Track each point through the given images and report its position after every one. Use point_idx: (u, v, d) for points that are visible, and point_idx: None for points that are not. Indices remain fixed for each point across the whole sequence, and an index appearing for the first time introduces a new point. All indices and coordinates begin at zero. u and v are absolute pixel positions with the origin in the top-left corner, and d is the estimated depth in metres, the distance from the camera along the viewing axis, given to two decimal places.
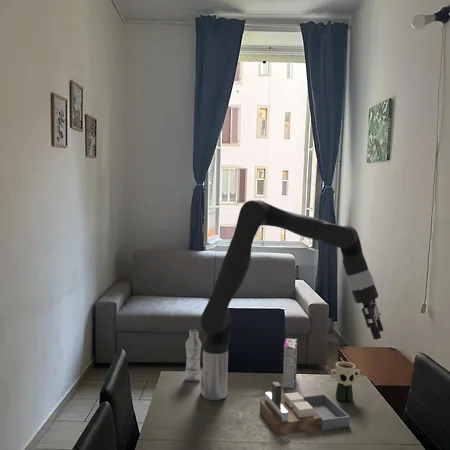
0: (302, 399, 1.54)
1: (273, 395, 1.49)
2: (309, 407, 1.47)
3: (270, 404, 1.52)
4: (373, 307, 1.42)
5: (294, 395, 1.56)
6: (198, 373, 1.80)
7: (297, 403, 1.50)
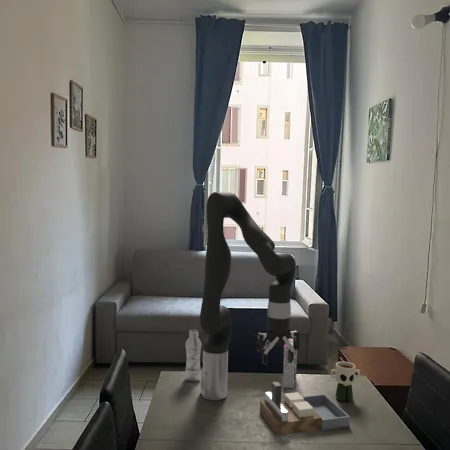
0: (302, 399, 1.54)
1: (273, 395, 1.49)
2: (309, 407, 1.47)
3: (270, 404, 1.52)
4: (274, 337, 1.46)
5: (294, 395, 1.56)
6: (198, 373, 1.80)
7: (297, 403, 1.50)
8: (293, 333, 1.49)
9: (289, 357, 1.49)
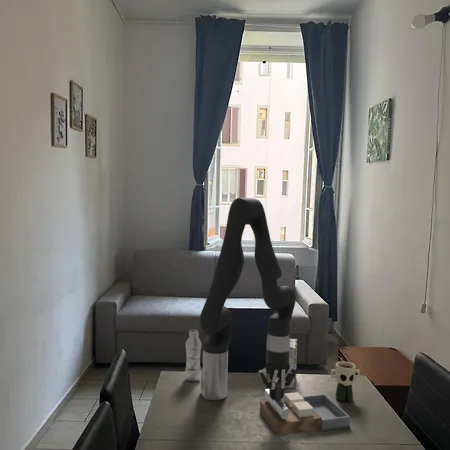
0: (302, 399, 1.54)
1: None
2: (309, 407, 1.47)
3: (270, 401, 1.52)
4: (273, 371, 1.47)
5: (294, 395, 1.56)
6: (198, 373, 1.80)
7: (297, 403, 1.50)
8: (291, 369, 1.50)
9: None
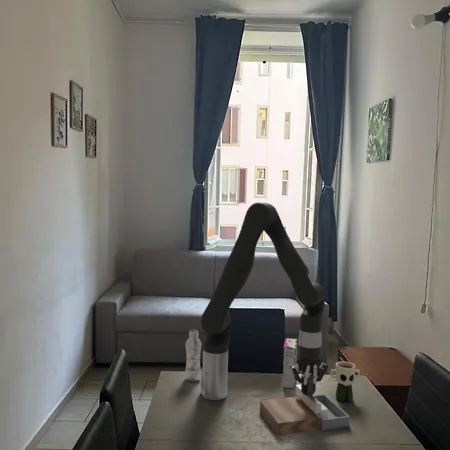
0: None
1: None
2: None
3: (302, 396, 1.55)
4: (305, 367, 1.50)
5: None
6: (198, 373, 1.80)
7: None
8: (322, 364, 1.53)
9: None
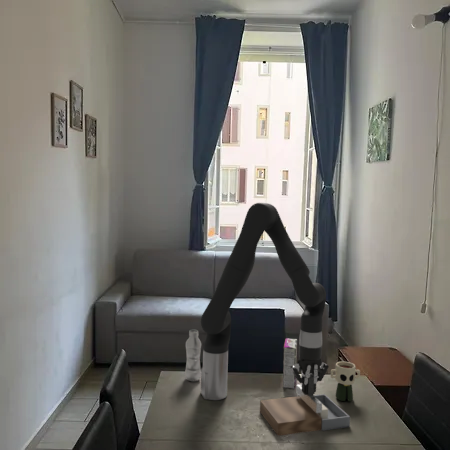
0: None
1: None
2: None
3: (302, 396, 1.55)
4: (306, 367, 1.50)
5: None
6: (198, 373, 1.80)
7: None
8: (323, 364, 1.53)
9: None
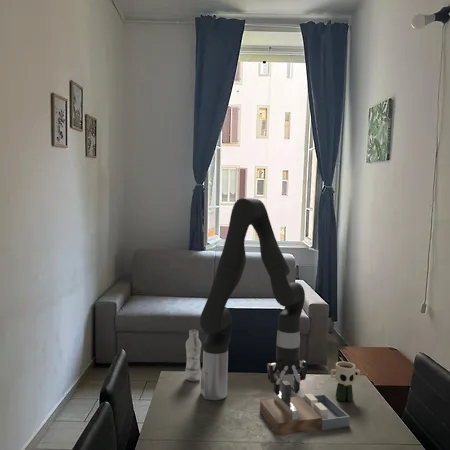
0: None
1: (283, 394, 1.50)
2: None
3: (279, 403, 1.53)
4: (283, 367, 1.48)
5: None
6: (198, 373, 1.80)
7: None
8: (302, 363, 1.51)
9: (295, 387, 1.51)
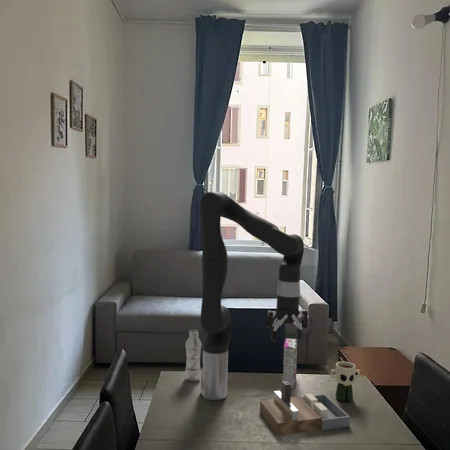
0: None
1: (283, 394, 1.50)
2: None
3: (279, 403, 1.53)
4: (283, 315, 1.52)
5: None
6: (198, 373, 1.80)
7: None
8: (301, 312, 1.55)
9: (297, 335, 1.55)
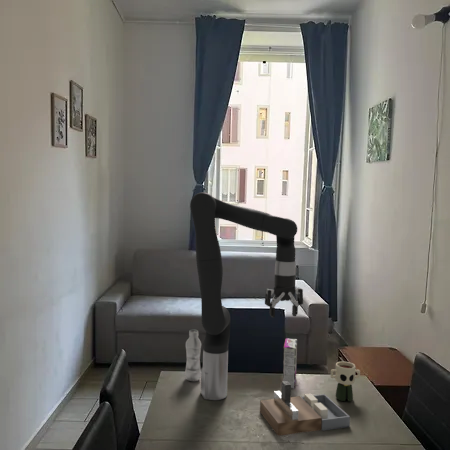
0: None
1: (283, 394, 1.50)
2: None
3: (279, 403, 1.53)
4: (281, 293, 1.65)
5: None
6: (198, 373, 1.80)
7: None
8: (297, 290, 1.68)
9: (294, 311, 1.68)
